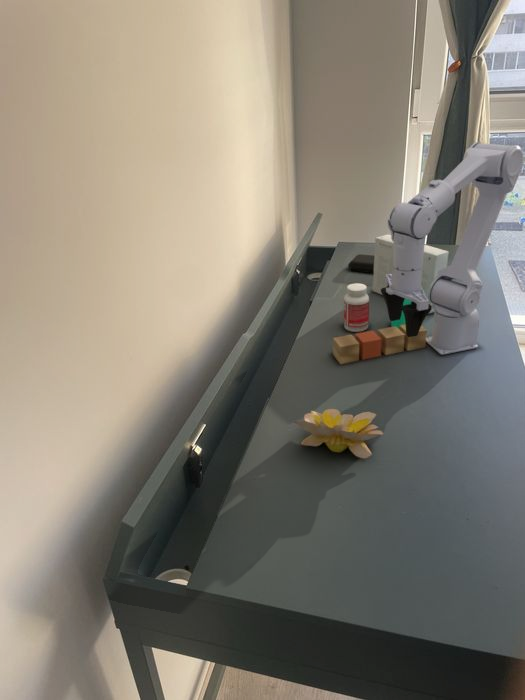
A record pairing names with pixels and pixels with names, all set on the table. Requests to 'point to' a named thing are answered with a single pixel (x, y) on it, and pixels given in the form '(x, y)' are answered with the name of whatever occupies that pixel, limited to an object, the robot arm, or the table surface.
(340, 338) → the block
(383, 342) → the block
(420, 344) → the block
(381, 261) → the skincare box
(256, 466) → the table surface
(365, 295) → the pill bottle
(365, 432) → the decorative flower
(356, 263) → the carrying case
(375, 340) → the orange block
